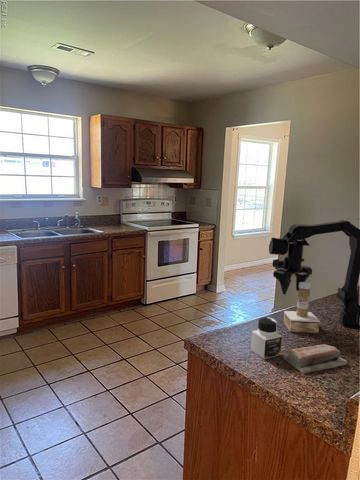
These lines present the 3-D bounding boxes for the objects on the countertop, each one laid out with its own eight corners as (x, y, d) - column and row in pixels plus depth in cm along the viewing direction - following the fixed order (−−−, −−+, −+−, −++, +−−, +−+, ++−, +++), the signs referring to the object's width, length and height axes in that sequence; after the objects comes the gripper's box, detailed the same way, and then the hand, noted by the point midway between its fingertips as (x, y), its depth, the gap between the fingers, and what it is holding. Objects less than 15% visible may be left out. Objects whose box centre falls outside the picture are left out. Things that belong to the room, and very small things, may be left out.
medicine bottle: (264, 359, 113) (267, 325, 110) (250, 350, 119) (252, 317, 117) (280, 355, 116) (283, 321, 114) (266, 346, 122) (268, 314, 120)
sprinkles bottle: (294, 315, 138) (297, 282, 137) (298, 312, 142) (301, 281, 140) (305, 318, 136) (308, 285, 134) (309, 315, 139) (312, 283, 137)
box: (309, 322, 144) (310, 313, 144) (318, 333, 134) (319, 323, 134) (283, 321, 145) (284, 312, 144) (290, 331, 135) (291, 322, 134)
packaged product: (304, 360, 104) (283, 345, 113) (302, 375, 105) (282, 359, 114) (349, 352, 111) (325, 338, 120) (347, 365, 112) (324, 351, 121)
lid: (310, 313, 144) (311, 312, 143) (320, 322, 133) (320, 320, 133) (284, 312, 144) (284, 310, 144) (291, 320, 134) (291, 319, 134)
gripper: (291, 249, 151) (288, 283, 154) (264, 253, 140) (260, 290, 143) (314, 254, 142) (310, 290, 145) (287, 259, 131) (283, 298, 134)
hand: (291, 292), depth 142 cm, fingers open, 9 cm apart
